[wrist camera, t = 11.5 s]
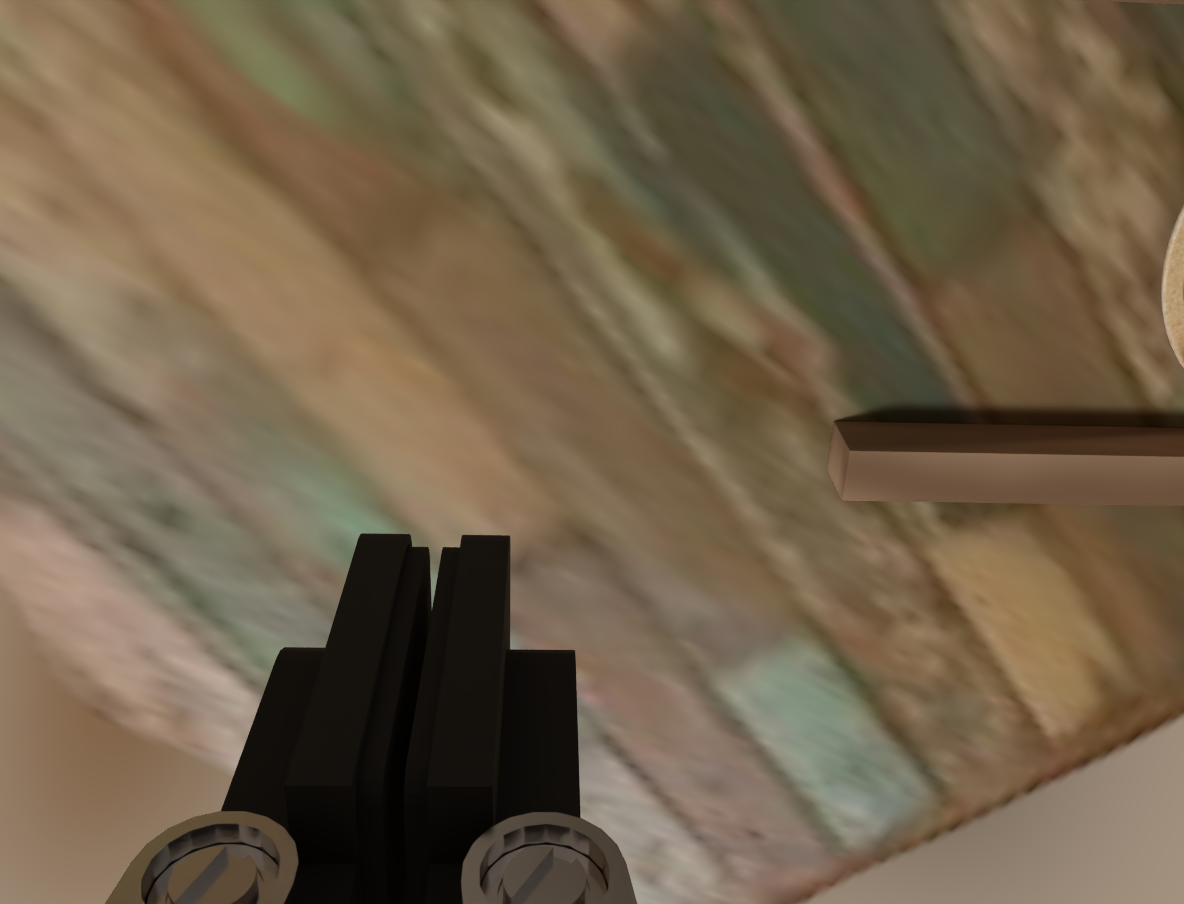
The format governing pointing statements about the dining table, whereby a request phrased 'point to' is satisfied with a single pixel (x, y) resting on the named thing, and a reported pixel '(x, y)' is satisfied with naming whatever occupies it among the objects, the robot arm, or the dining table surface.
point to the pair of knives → (1008, 459)
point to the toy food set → (1174, 289)
